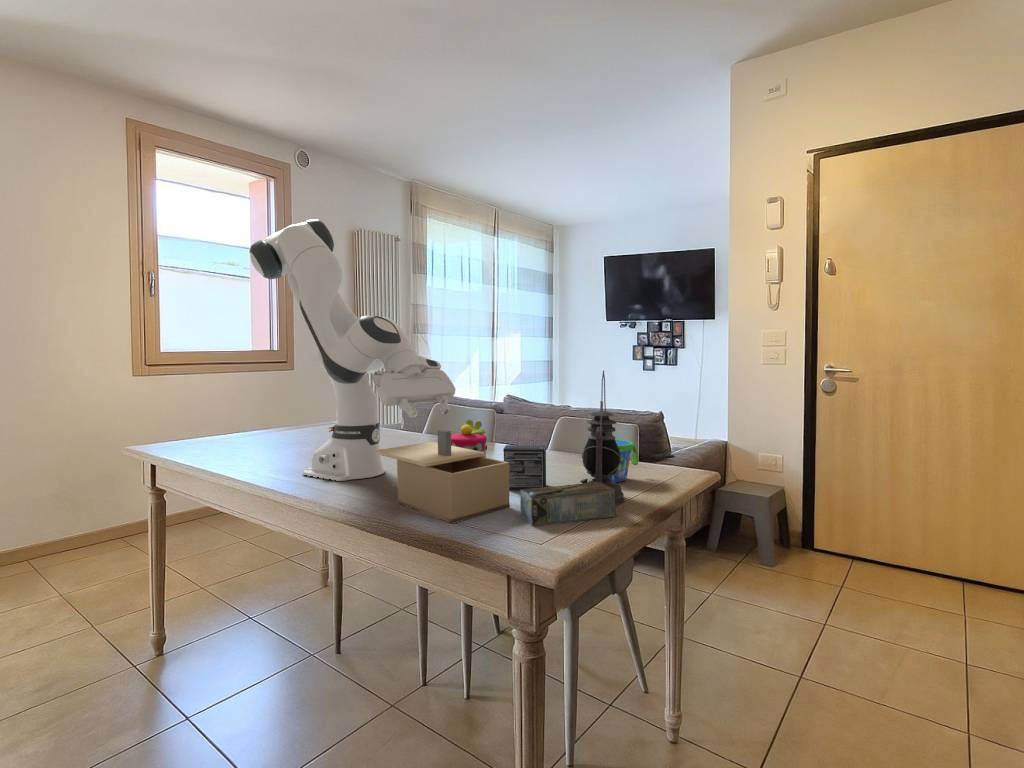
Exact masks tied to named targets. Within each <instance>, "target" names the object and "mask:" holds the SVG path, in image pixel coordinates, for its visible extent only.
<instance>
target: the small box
mask: <svg viewBox="0 0 1024 768" xmlns="http://www.w3.org/2000/svg"><path fill="white" fill-rule="evenodd" d="M546 447H547V446H546V445H545V444H544V445H543V444H534V445H533V444H506V445H505V446H504V447H503V461H505V462H509V491H521V490H522V489H533V488H543V487H547V450H546V449H547V448H546Z"/></svg>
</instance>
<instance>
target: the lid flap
mask: <svg viewBox="0 0 1024 768" xmlns="http://www.w3.org/2000/svg"><path fill="white" fill-rule="evenodd" d="M451 436H452V431H450V430H446V429H439V430H437V442H435V441H428V442H422V443H421V442H420V443H415V444H407V445H401V446H395V447H387V448H381V449H380V450H375V454H378V455H381V457H382V456H383V457H386V458H390V459H394V460H396V461H397V460H401V461H405V462H408V463H412V464H416V465H419V466H423V467H428V466H434V465H439V464H444V463H450V462H455V461H460V460H465V459H471V458H476V457H481V456H485V452H480V451H475V450H470V449H465V448H460V447H456V446H451Z"/></svg>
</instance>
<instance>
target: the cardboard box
mask: <svg viewBox="0 0 1024 768" xmlns="http://www.w3.org/2000/svg"><path fill="white" fill-rule="evenodd" d="M396 471H397V473H396V474H397V476H396V477H397V504H398V503H400V504H399V505H401V504H402V506H404V505H405V506H404V507H406V506H408V507H407V508H409V507H411V508H410V509H412V508H413V509H412V510H415V509H416V510H415V511H417V510H419V511H418V512H420V511H421V512H420V513H423V512H424V513H423V514H425V513H426V515H428V514H429V515H428V516H431V515H432V516H431V517H433V516H434V518H436V517H437V519H439V518H440V519H439V520H441V519H442V520H441V521H444V520H445V521H444V522H447V521H448V522H447V523H449V522H450V523H449V524H454V523H453V522H456V523H458V522H457V521H459V522H462V521H461V520H463V521H465V519H466V520H469V519H468V518H470V519H472V517H473V518H476V517H480V516H483V515H487V514H490V513H494V512H497V511H500V510H501V511H502V510H504V509H507V508H510V490H509V462H505V461H504V460H499V459H494V458H491V457H487V456H486V457H482V456H481V457H476V458H471V459H465V460H460V461H455V462H450V463H444V464H439V465H434V466H428V467H423V466H419V465H416V464H412V463H408V462H405V461H401V460H397V459H396ZM486 513H487V514H486Z"/></svg>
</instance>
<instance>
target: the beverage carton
mask: <svg viewBox="0 0 1024 768" xmlns="http://www.w3.org/2000/svg"><path fill="white" fill-rule="evenodd" d="M590 481H591V482H589V481H587V482H588V483H583V484H582V483H575V484H564V485H557V486H546V487H543V488H533V489H522V490H519V492H520V502H519V503H520V516H521V517H522V518H523V520H525V521H526V523H528V524H529V525H530V526H531V527H538V526H545V525H547V526H548V525H555V524H557V523H558V524H565V522H566V523H572V522H582V521H588V520H596V519H598V520H599V519H607V518H608V519H609V518H614V517H617V507H616V506H617V504H616V490H615V488H612V487H610V486H608V485H606V484H603V483H602V482H593V481H592V480H590Z"/></svg>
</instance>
